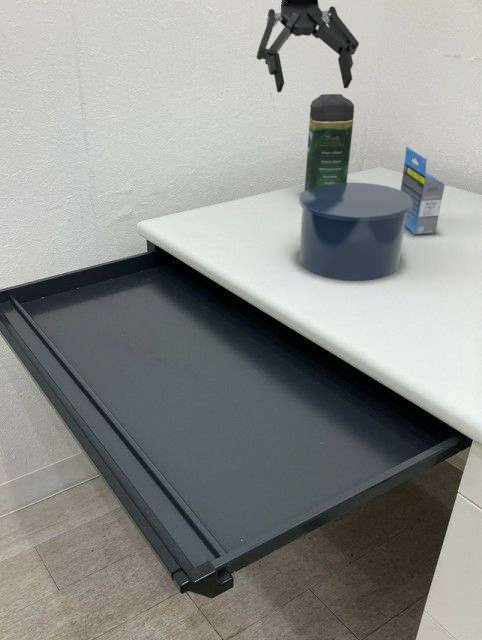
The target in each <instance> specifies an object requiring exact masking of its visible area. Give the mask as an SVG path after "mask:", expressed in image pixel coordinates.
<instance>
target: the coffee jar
mask: <svg viewBox="0 0 482 640" xmlns="http://www.w3.org/2000/svg"><path fill="white" fill-rule="evenodd" d="M309 106H310V111H309V123H308V138H307V139H308V141H307V151H306V152H307V153H306V168H305V179H304V180H305V181H304V192H305V191H306V190H308V189H311V188H314V187H317V186H321V185H326V184H334V183H348V173H349V163H350V158H351V157H350V156H351V147H352V138H353V127H354V116H355V104H354V103H353V102H352V100H350V99H348V98H347V97H345V96H343V94H341V93H340V94H339V93H323V94H320V95H319V96H318V97H315V98H314V99H313V100H311V103H310V104H309Z"/></svg>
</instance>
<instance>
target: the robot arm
mask: <svg viewBox="0 0 482 640" xmlns="http://www.w3.org/2000/svg"><path fill="white" fill-rule="evenodd" d="M281 3H282V4H281V12H276V10H274V9H273V8H270V9H269V10H268V13H267V16H268V18H267V17H266V20H267V25H265V26H266V27H265V29H264V32H263V34H262V37H261V40H260V43H259V46H258V49H257V53H256V59H257V60H258V61H261V60H264V63H265V65H267V69H268V73H269V75H270V76H274V77H273V78H274V80H275V81H274V82H275V87H276V92H277V93H282V91H283V88H284V85H285V79H284V74H283V68H282V62H281V58H280V53H279V51H280V50H281V48H282V47H283V46H284V44H285V43H286V41H287V40H289V38H290V37H291V35H294V36H295V37H300V36H301V37H302V36H306V37H308V36H311V35H312V36H313V37H314V38H315V39H319V40H321V41H322V42H323V43H324V44H325V45H327V46H328V47H329V48H330V49H331V50H333V51H334V52H335V53H336V54H337V55H338V58H337V61H338V66H339V72H340V75H341V81H342V85H343V89H348V88H349V86H350V84H351V82H352V81H353V75H352V68H353V65H354V62H353V61H354V60H353V57H352V56H354V55H355V53H356V51H357V49H358V48H359V44H360V43H359V41H358V39H356V37H355V36H354V35H353V33H352V32H351V30H350V29H349V28H348V27H347V25H346V24H345V23H344V22H343V20H342V19H341V18H340V17H339V15H338V12H337V9H336V7H335V6H332V5H331V6H330V7H329V9H328V10H322V9H321V8H320V7H319V6H320V5H319V0H282V2H281ZM278 23H280V24H281V25H282V26H283V29H282V30H281V31H280V33H279V34H278V35H277V36H276V39H275V40H274V41H273V42H272V44H271V45H270V47H269V48H267V46H268V43H269V41H270V39H271V35H272V32H273V29H274V28H275V27H276V26H277V25H278Z"/></svg>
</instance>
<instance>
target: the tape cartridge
mask: <svg viewBox="0 0 482 640" xmlns="http://www.w3.org/2000/svg"><path fill="white" fill-rule="evenodd" d="M413 160H415V161H416V162H417V163H418V164H416V163H414V162H413ZM427 161H428V159H427V158H425V157H423V156H422V155H420V154H419V153H418V152H416V151H414V150H412V149H411V148H410V147H408V146H406V147H405V155H404V166H403V171H402V178H401V185H400V191H403V192H405V193H406V194H408V195H409V196H410V197H411V198H412V201H413V203H412V208H411V209H410V210H409V211H408V212H407V218H406V224H405V228H407V229H408V230H409V231H410V232H411V233H412V234H413V235H414V236H417V235H432V234H436V231H437V226H438V220H439V216H440V210H441V205H442V201H443V200H442V199H443V195H444V190H445V187H446V186H445V183H444V182H442V181H441V180H439V179H437V178H436V177H434V176H433V175H431V174H430V173H429V172H427Z"/></svg>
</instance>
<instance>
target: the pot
mask: <svg viewBox="0 0 482 640" xmlns="http://www.w3.org/2000/svg"><path fill="white" fill-rule="evenodd" d="M298 201H299V205H300V207H301V208H302V209H301V223H300V224H301V225H300V240H299V241H300V243H299V259H298V260H299V263H300V264H301V266H302V267H303V268H304V269H305V270H307V272H308V271H309V273H312V274H314V275H317V276H320V277H323V278H327V279H331V280H336V281H337V280H338V281H345V282H346V281H348V282H361V281H362V282H363V281H373V280H378V279H383V278H385V277H387V276H389V275H391V274H394V273H395V272H396V271H397V270H398V269H399V266H400V262H401V261H400V260H401V255H402V250H403V242H404V237H405V231H406V226H405V224H406V218H407V212H408V211H409V210H410V209H411V208H412V203H413V201H412V198H411V197H410V196H409V195H408V194H406V193H405V192H403V191H401V189H398V188H395V187H392V186H387V185H382V184H375V183H365V182H347V183H334V184H326V185H321V186H317V187H314V188H311V189H308V190H306V191H305V190H304V191H303V192H301V194H300V196H299V200H298Z"/></svg>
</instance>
